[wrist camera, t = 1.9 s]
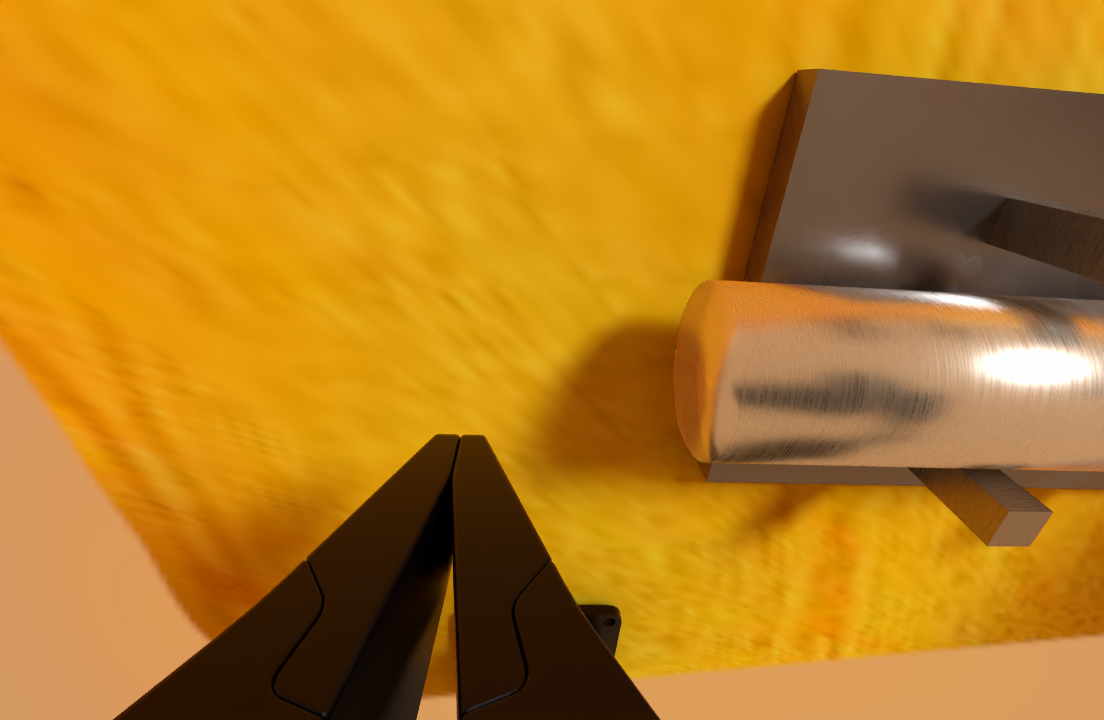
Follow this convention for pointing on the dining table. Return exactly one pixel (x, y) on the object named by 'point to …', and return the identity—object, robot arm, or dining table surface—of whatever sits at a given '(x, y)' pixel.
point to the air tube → (889, 378)
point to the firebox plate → (936, 233)
